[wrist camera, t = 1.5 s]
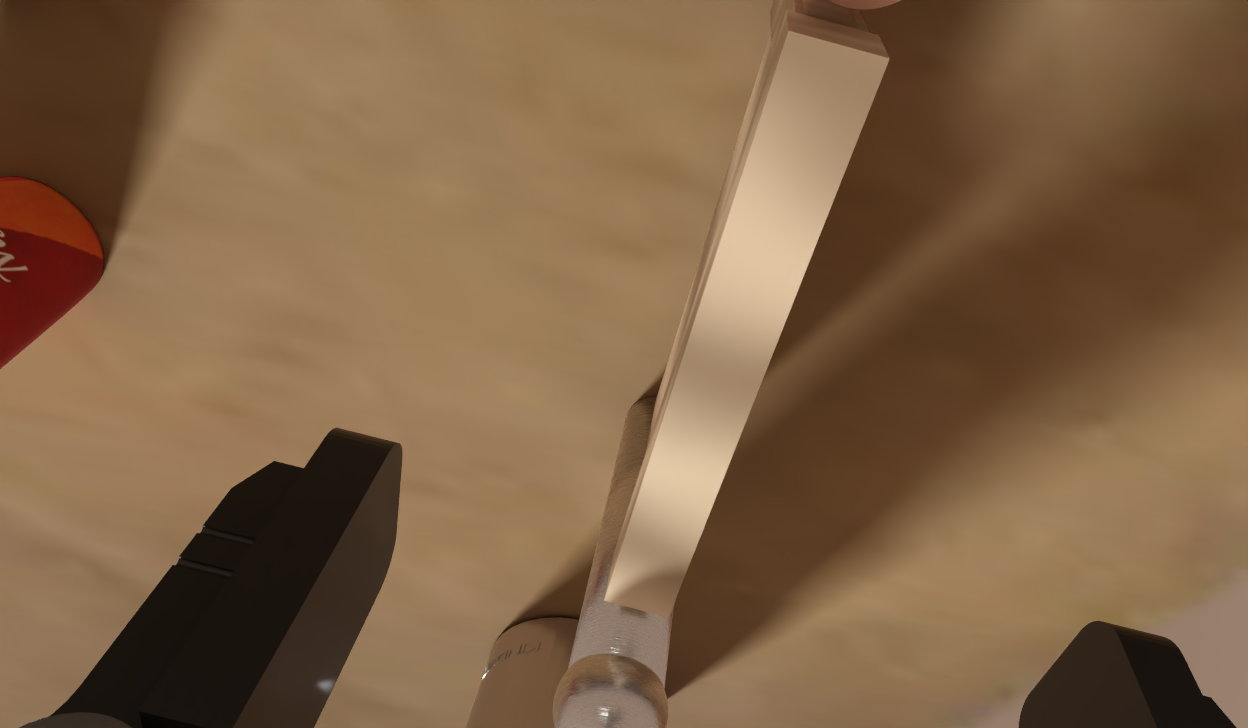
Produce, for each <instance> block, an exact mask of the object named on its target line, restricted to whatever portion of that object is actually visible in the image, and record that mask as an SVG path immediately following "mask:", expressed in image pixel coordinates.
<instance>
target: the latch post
mask: <svg viewBox="0 0 1248 728" xmlns="http://www.w3.org/2000/svg"><path fill="white" fill-rule="evenodd" d="M829 1H831V2H833V3H835V4H837V5H840V6H844V7H847V8H852V9H876V8H881V7H885V6H889V5H892V4H894V3H897V2H899V1H901V0H829Z"/></svg>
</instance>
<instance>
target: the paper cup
mask: <svg viewBox="0 0 1248 728" xmlns="http://www.w3.org/2000/svg"><path fill="white" fill-rule="evenodd" d="M103 269H104V255H103V250H102V246H101V243H100V241H99V238H98V236H97V234H96V232H95V230H94V228H93V227H92V225H91V224H90V222H89V221H88V220H87V218H86V217H85V216H84V214H83V213H82V212H81V211H80V210H79V209H78V208H77V207H76V206H75V205H74V204H73V203H72V202H71V201H69V200H68V199H67V198H66V197H64V196H63V195H62V194H60V193H59V192H57V191H56V190H54V189H52V188H51V187H49V186H47V185H45V184H42V183H40V182H37V181H35V180H31V179H28V178H23V177H3V178H0V369H1V368H2V367H3V366H4V365H6V364H7V363H8V362H9V361H10V360H12V359H13V358H14V357H15V356H16V355H17V354H19V353H20V352H21V351H22V350H23V349H25V348H26V347H27V346H28V345H29V344H31V343H32V342H33V341H34V340H35V339H36V338H38V337H39V336H40V335H41V334H42V333H43V332H45V331H46V330H47V329H48V328H49V327H51V326H52V325H53V324H54V323H55V322H56V321H58V320H59V319H60V318H61V317H62V316H63V315H65V314H66V313H67V312H68V311H69V310H70V309H71V308H73V307H74V306H75V305H76V304H77V303H78V302H79V301H80V300H82V299H83V298H84V297H85V296H86V295H87V294H88V293H89V292H90V291H91V290H92V289H93V288H94V287H95V286H96V284H97V283H98V282H99V280H100V278H101V276H102V273H103Z"/></svg>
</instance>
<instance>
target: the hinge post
mask: <svg viewBox="0 0 1248 728" xmlns="http://www.w3.org/2000/svg"><path fill="white" fill-rule="evenodd" d="M656 398H657V396H652V397H647V398H644V399H641V400H640V401H638V402H636V403H635V404H634V405H633V406H632V407H631V408H630V410H629V411H628V414H627V417H626V421H625V425H624V429H623V434H622V438H621V442H620V447H619V451H618V455H617V460H616V464H615V468H614V472H613V477H612V481H611V485H610V490H609V494H608V498H607V502H606V507H605V511H604V515H603V520H602V524H601V528H600V533H599V537H598V541H597V545H596V550H595V554H594V558H593V563H592V567H591V571H590V576H589V580H588V584H587V588H586V593H585V597H584V601H583V606H582V610H581V614H580V618H579V623H578V627H577V631H576V636H575V640H574V644H573V649H572V653H571V657H570V661H569V666H568V670H567V671H566V672H565V674H564V675H563V677H562V679H561V680H560V682H559V684H558V687H557V690H556V693H555V696H554V702H553V721H554V727H555V728H666V725H667V720H668V702H667V696H666V692H665V689H664V688H665V679H666V671H667V662H668V654H669V645H670V637H671V628H672V620H673V611H674V605H673V608H672V610H671V613H670V615H669V618H668V617H664V616H660V615H656V614H653V613H649V612H645V611H641V610H638V609H634V608H630V607H627V606H623V605H619V604H615V603H612V602H608V601H604V599H605V594H606V589H607V584H608V579H609V575H610V570H611V565H612V560H613V555H614V551H615V548H616V545H617V542H618V538H619V535H620V532H621V529H622V526H623V523H624V520H625V516H626V513H627V510H628V507H629V504H630V501H631V498H632V494H633V491H634V488H635V485H636V482H637V479H638V476H639V472H640V469H641V466H642V463H643V460H644V457H645V454H646V449H647V443H648V438H649V433H650V428H651V422H652V417H653V412H654V407H655V401H656ZM674 603H675V602H674Z"/></svg>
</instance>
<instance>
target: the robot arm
mask: <svg viewBox="0 0 1248 728" xmlns="http://www.w3.org/2000/svg"><path fill="white" fill-rule="evenodd" d="M401 467H402V447H401V445H400V444H399V443H396V442H392V441H388V440H384V439H380V438H376V437H372V436H368V435H364V434H360V433H356V432H352V431H348V430H344V429H340V428H334V429H333V430H331V431H330V432H329V433H328V434H327V436H326V437H325V438H324V440H323V441H322V443H321V444H320V446H319V447H318V449H317V450H316V452H315V453H314V454H313V456H312V457H311V459H310V460H309V462H308V463H307V465H306V466H305V468H300V467H296V466H292V465H288V464H284V463H280V462H276V461H274V462H272V463H270V464H269V465H267V466H266V467H264V468H263V469H261V470H259V471H258V472H256V473H255V474H253V475H252V476H250V477H248V478H247V479H245V480H244V481H242V482H240V483H239V484H237V485H236V486H234V487H233V488H231V490H230V491H229V492H228V493H227V495H226V496H225V497H224V499H223V500H222V501H221V503H220V504H219V505H218V507H217V508H216V509H215V510H214V512H213V513H212V514H211V516H210V517H209V518H208V520H207V521H206V522H205V523H204V525H203V529H202V531H201V533H200V534H199V533H197V534H196V535H195V537H194V538H193V539H192V540H191V542H190V543H189V544H188V546H187V547H186V548H185V550H184V551H183V552H182V554H181V555H180V556H179V560H178V563H177V564H176V566H175V565H172V567H171V568H170V569H169V571H168V572H167V573H166V574H165V576H164V577H163V578H162V580H161V581H160V582H159V584H158V585H157V586H156V587H155V589H154V590H153V591H152V593H151V594H150V595H149V597H148V598H147V599H146V601H145V602H144V603H143V604H142V606H141V607H140V608H139V610H138V611H137V612H136V614H135V615H134V616H133V618H132V619H131V620H130V621H129V623H128V624H127V625H126V627H125V628H124V629H123V631H122V632H121V633H120V635H119V636H118V637H117V638H116V640H115V641H114V642H113V644H112V645H111V646H110V648H109V649H108V650H107V651H106V653H105V654H104V655H103V657H102V658H101V659H100V661H99V662H98V663H97V665H96V666H95V667H94V668H93V670H92V671H91V672H90V674H89V675H88V676H87V678H86V679H85V680H84V682H83V683H82V684H81V685H80V687H79V688H78V689H77V690H76V691H75V693H74V694H73V695H72V696H71V697H70V698H69V699H68V700H67V701H66V702H65V703H64V704H63V705H62V706H61V707H60V708H59V709H58V710H56V711H55V712H54V713H53V714H52V715H50V716H49V717H46V718H42V719H39V720H37V721H34V722H31V723H28V724H25V725H23V726H21V727H19V728H314V726H315V724H316V722H317V720H318V718H319V716H320V714H321V712H322V710H323V708H324V706H325V704H326V701H327V699H328V697H329V695H330V693H331V691H332V689H333V687H334V685H335V683H336V681H337V679H338V676H339V674H340V672H341V670H342V668H343V666H344V664H345V662H346V660H347V658H348V656H349V654H350V651H351V649H352V647H353V645H354V643H355V641H356V639H357V637H358V635H359V633H360V631H361V629H362V627H363V624H364V622H365V620H366V618H367V616H368V614H369V612H370V610H371V608H372V606H373V604H374V602H375V599H376V597H377V595H378V593H379V591H380V589H381V587H382V584H383V582H384V579H385V577H386V574H387V571H388V568H389V565H390V562H391V558H392V554H393V550H394V546H395V540H396V532H397V519H398V506H399V493H400V480H401ZM578 623H579V620H578V619H569V618H561V617H559V618H540V619H535V620H530V621H526V622H523V623H521V624H518V625H516V626H513V627H512V628H510V629H509V630H507V631H506V632H504V633H503V634H502V635H501V636H500V637H499V639H498V640H497V641H496V642H495V644H494V646H493V649H492V652H491V654H490V657H489V660H488V663H487V666H486V668H485V670H484V673H483V676H482V681H481V684H480V688H479V691H478V694H477V697H476V699H475V702H474V705H473V708H472V711H471V713H470V717H469V720H468V723H467V726H466V728H555V727H554V721H553V702H554V696H555V693H556V690H557V687H558V684H559V682H560V680H561V679H562V677H563V675H564V674H565V672H566V671H567V670H568V666H569V661H570V657H571V653H572V649H573V644H574V640H575V636H576V631H577V627H578ZM1019 728H1236V727H1235V725H1234V724H1233V723H1232V722H1231V721H1230V720H1229V719H1228V717H1227V716H1226V715H1225V714H1224V713H1223V711H1222V710H1221V709H1220V708H1219V707H1218V705H1216V703H1215V702H1214V701H1213V700H1212V698H1210V697H1206V696H1203V695H1202V693H1201V691H1200V689H1199V687H1198V685H1197V683H1196V681H1195V679H1194V677H1193V675H1192V673H1191V671H1190V669H1189V667H1188V664H1187V662H1186V660H1185V658H1184V656H1183V654H1182V653H1181V651H1180V649H1179V648H1178V647H1177V646H1176V645H1175V643H1173V642H1172V641H1171V640H1169V639H1167V638H1165V637H1162V636H1158V635H1154V634H1150V633H1146V632H1142V631H1138V630H1134V629H1130V628H1126V627H1122V626H1118V625H1114V624H1110V623H1106V622H1101V621H1094V622H1091V623H1089V624H1088V625H1086V626H1085V627H1084V628H1083V629H1082V630H1081V631H1080V632H1079V633H1078V635H1077V636H1076V637H1075V638H1074V640H1073V641H1072V642H1071V643H1070V645H1069V646H1068V647H1067V648H1066V649H1065V651H1064V652H1063V653H1062V654H1061V656H1060V657H1059V658H1058V659H1057V660H1056V662H1055V663H1054V664H1053V665H1052V667H1051V668H1050V669H1049V670H1048V672H1047V673H1046V674H1045V675H1044V676H1043V678H1042V679H1041V680H1040V681H1039V683H1038V684H1037V685H1036V686H1035V688H1034V689H1033V690H1032V691H1031V692H1030V694H1029V695H1028V697H1027V698H1026V700H1025V702H1024V705H1023V708H1022V711H1021V715H1020V721H1019Z"/></svg>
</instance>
